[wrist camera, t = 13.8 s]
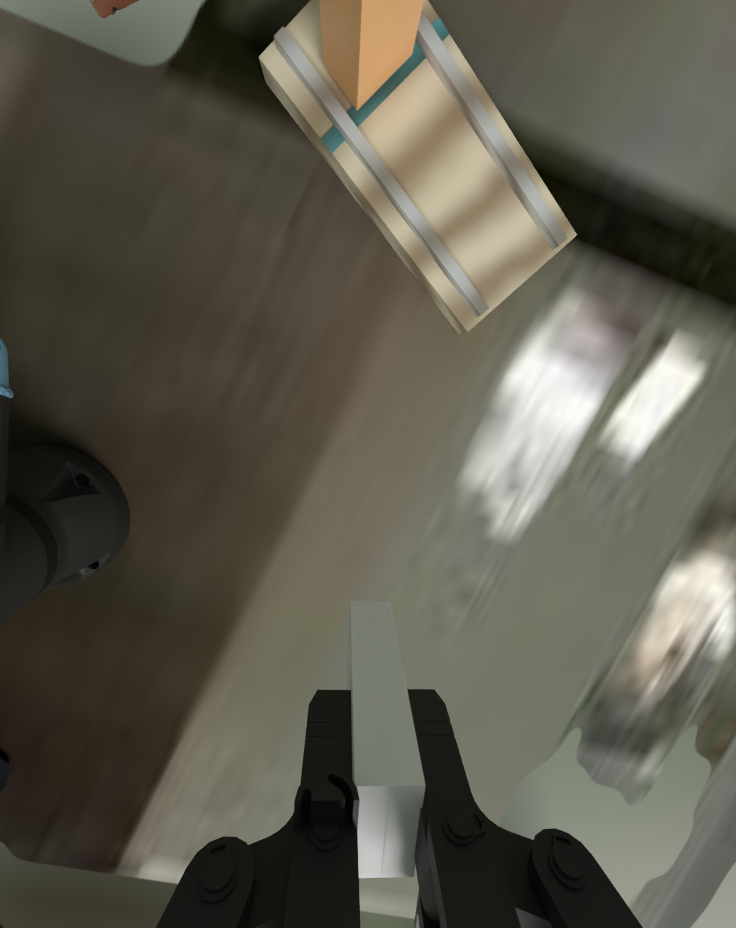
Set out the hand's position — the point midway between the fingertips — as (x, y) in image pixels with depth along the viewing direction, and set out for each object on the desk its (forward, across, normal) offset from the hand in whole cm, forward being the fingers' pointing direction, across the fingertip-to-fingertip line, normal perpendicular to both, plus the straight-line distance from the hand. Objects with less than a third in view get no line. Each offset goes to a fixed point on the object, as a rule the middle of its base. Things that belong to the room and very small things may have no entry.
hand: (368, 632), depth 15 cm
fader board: (+29, +5, +28) cm, 41 cm away
